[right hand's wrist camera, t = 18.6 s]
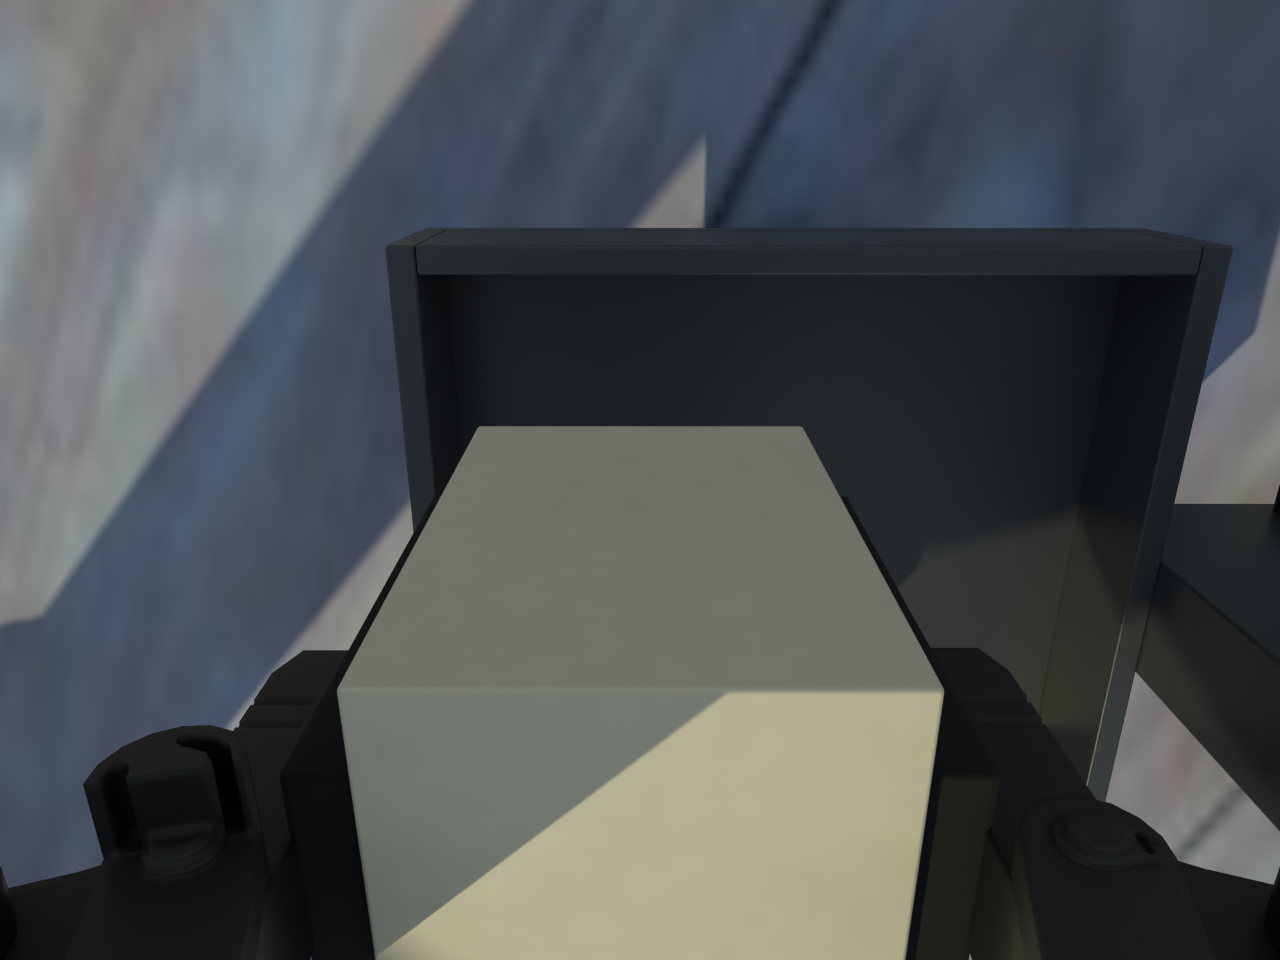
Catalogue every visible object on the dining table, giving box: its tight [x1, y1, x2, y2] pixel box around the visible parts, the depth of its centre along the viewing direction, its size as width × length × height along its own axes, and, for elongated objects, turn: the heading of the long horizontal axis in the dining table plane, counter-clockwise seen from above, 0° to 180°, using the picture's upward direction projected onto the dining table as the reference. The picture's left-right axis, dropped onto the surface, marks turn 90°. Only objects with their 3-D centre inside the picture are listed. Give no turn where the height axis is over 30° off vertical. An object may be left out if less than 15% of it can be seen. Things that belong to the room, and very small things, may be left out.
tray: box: [386, 228, 1280, 831], centre depth 21 cm, size 27×17×9 cm, turn 90°
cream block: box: [337, 426, 944, 960], centre depth 12 cm, size 5×5×7 cm
